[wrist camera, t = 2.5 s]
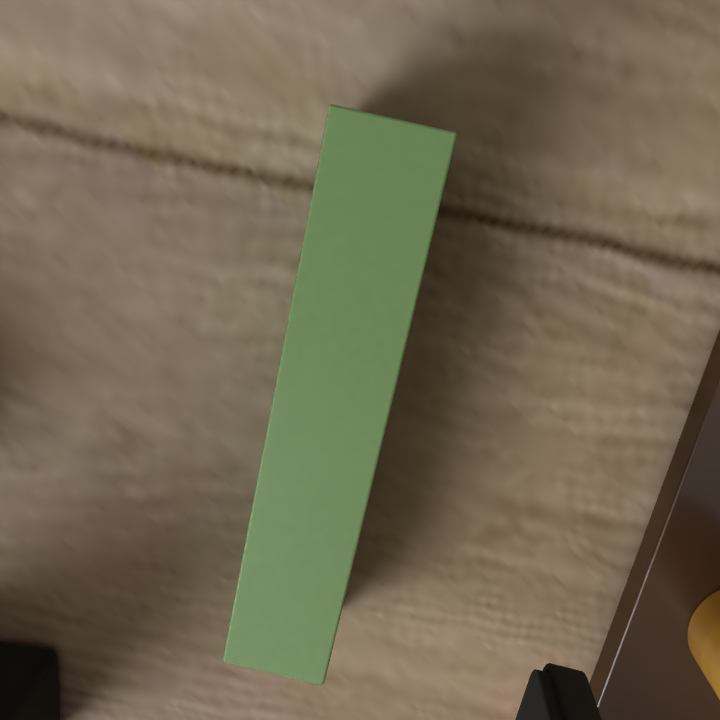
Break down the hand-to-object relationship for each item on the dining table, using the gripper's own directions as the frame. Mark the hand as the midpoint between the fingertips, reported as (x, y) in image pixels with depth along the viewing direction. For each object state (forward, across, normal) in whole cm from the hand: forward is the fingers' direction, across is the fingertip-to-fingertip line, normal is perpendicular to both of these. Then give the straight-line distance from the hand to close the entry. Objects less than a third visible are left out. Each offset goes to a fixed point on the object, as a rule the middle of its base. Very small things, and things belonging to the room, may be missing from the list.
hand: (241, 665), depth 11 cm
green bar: (+14, 0, -1) cm, 14 cm away
